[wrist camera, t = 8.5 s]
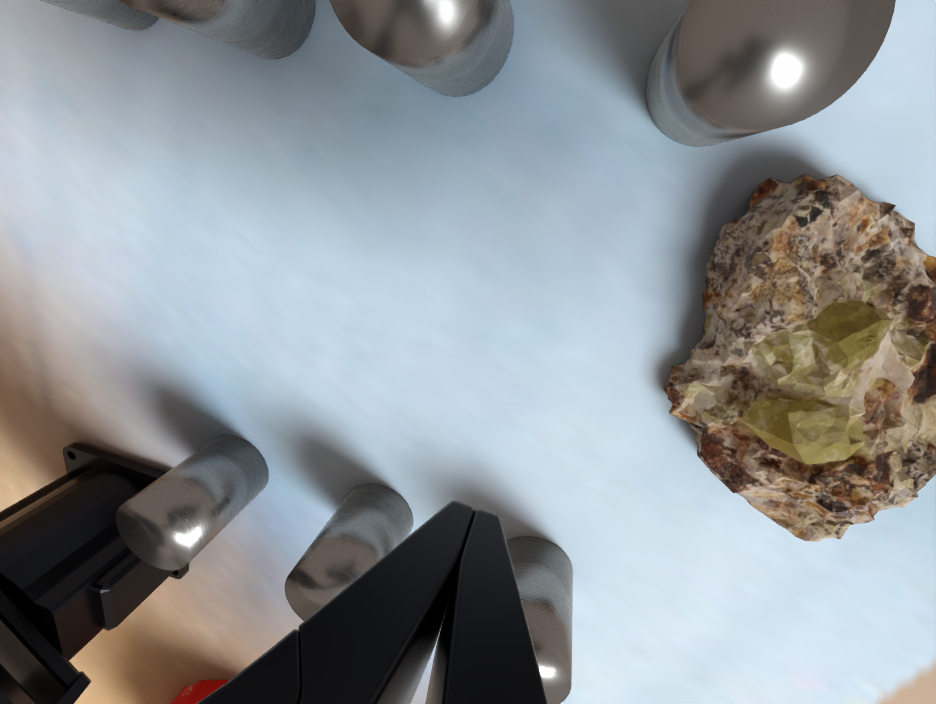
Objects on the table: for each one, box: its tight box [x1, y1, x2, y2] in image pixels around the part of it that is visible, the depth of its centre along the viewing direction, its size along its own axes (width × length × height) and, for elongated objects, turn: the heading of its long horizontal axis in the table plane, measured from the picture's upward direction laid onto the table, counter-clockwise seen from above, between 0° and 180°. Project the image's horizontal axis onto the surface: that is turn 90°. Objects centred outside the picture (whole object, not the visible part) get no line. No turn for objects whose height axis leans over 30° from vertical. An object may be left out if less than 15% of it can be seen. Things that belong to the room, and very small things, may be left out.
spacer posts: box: [41, 0, 896, 704], centre depth 14 cm, size 21×21×4 cm
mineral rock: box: [663, 174, 936, 541], centre depth 13 cm, size 11×4×8 cm
